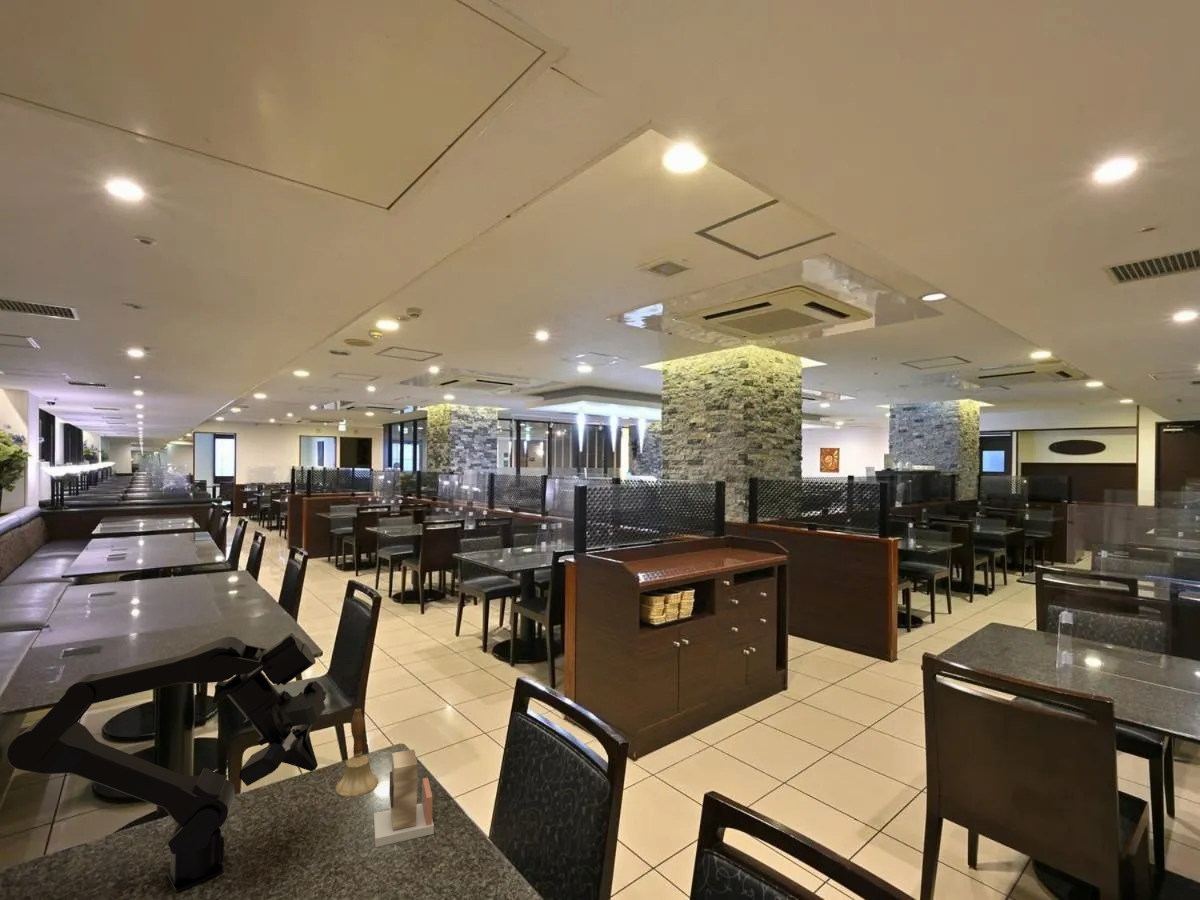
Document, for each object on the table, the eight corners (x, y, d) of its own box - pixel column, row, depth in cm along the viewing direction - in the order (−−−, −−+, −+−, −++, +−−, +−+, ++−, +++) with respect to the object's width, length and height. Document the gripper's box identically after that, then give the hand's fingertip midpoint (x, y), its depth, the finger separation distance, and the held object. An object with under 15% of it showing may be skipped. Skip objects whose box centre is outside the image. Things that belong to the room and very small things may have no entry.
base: (375, 847, 102) (376, 810, 102) (373, 821, 109) (374, 786, 110) (433, 833, 106) (434, 797, 106) (428, 809, 113) (429, 776, 114)
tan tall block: (390, 830, 104) (392, 769, 104) (388, 812, 110) (390, 753, 110) (416, 825, 106) (417, 764, 106) (413, 806, 111) (414, 749, 112)
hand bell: (363, 799, 116) (364, 719, 117) (326, 794, 118) (328, 715, 118) (386, 777, 125) (387, 703, 125) (351, 773, 126) (353, 699, 127)
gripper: (269, 717, 89) (329, 790, 92) (323, 650, 107) (371, 713, 111) (211, 749, 90) (272, 820, 93) (274, 677, 108) (323, 739, 112)
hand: (314, 768), depth 102 cm, fingers closed
